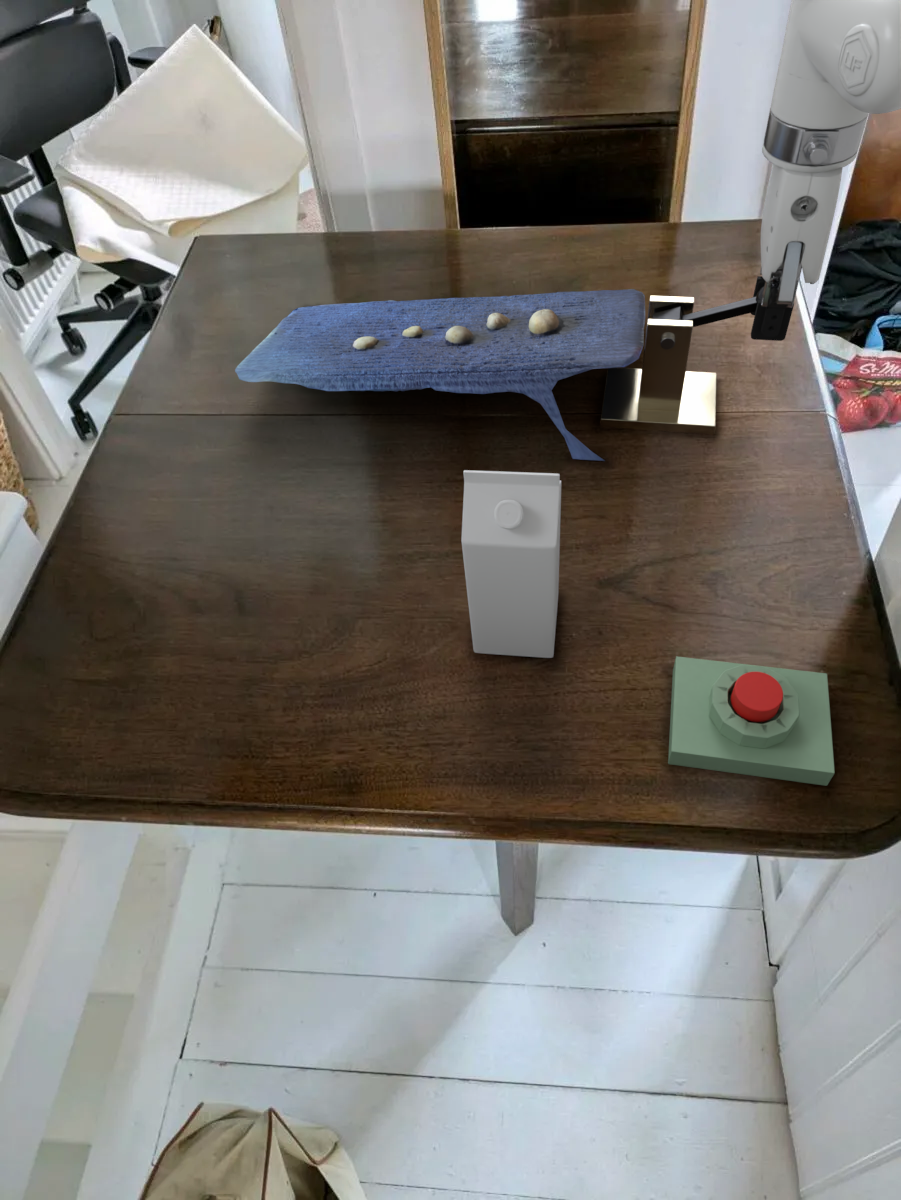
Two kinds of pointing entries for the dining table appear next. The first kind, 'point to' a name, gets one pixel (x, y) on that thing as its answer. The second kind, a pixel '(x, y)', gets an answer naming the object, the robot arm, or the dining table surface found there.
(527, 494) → the milk carton
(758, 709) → the power button
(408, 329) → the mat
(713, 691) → the green push button box
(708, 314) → the lever switch
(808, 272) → the robot arm
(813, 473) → the dining table surface
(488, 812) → the dining table surface
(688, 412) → the metal lever base
